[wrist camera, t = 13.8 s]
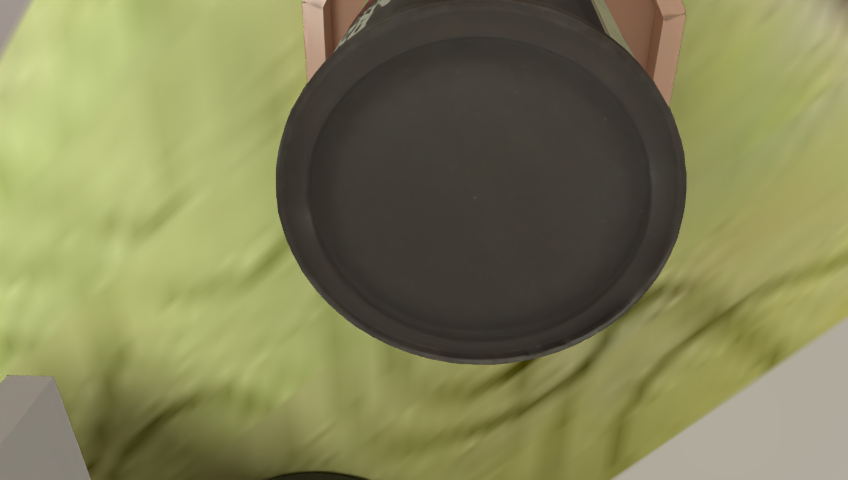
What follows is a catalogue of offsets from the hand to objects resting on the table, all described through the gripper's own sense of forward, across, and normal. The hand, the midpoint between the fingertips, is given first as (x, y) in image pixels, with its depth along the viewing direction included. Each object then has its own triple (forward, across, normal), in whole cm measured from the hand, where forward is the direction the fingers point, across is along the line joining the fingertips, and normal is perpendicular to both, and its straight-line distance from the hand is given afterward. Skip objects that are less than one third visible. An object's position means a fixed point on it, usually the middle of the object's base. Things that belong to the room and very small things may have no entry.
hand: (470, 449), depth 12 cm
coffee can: (+22, 0, 0) cm, 23 cm away
